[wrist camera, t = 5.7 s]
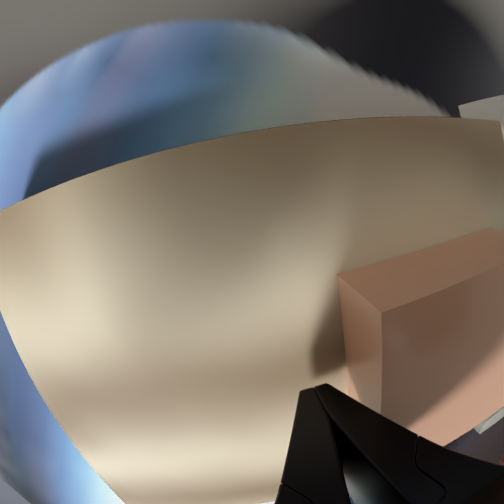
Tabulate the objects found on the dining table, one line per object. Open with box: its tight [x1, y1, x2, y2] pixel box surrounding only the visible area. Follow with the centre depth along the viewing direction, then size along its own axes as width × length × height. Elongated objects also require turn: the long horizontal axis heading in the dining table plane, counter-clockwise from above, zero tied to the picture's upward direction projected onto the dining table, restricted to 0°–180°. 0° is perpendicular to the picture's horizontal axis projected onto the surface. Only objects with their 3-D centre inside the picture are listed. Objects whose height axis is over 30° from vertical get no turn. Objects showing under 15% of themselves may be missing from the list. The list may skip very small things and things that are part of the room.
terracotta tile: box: [336, 228, 504, 446], centre depth 7 cm, size 6×6×2 cm
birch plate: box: [0, 117, 504, 504], centre depth 9 cm, size 14×18×2 cm
